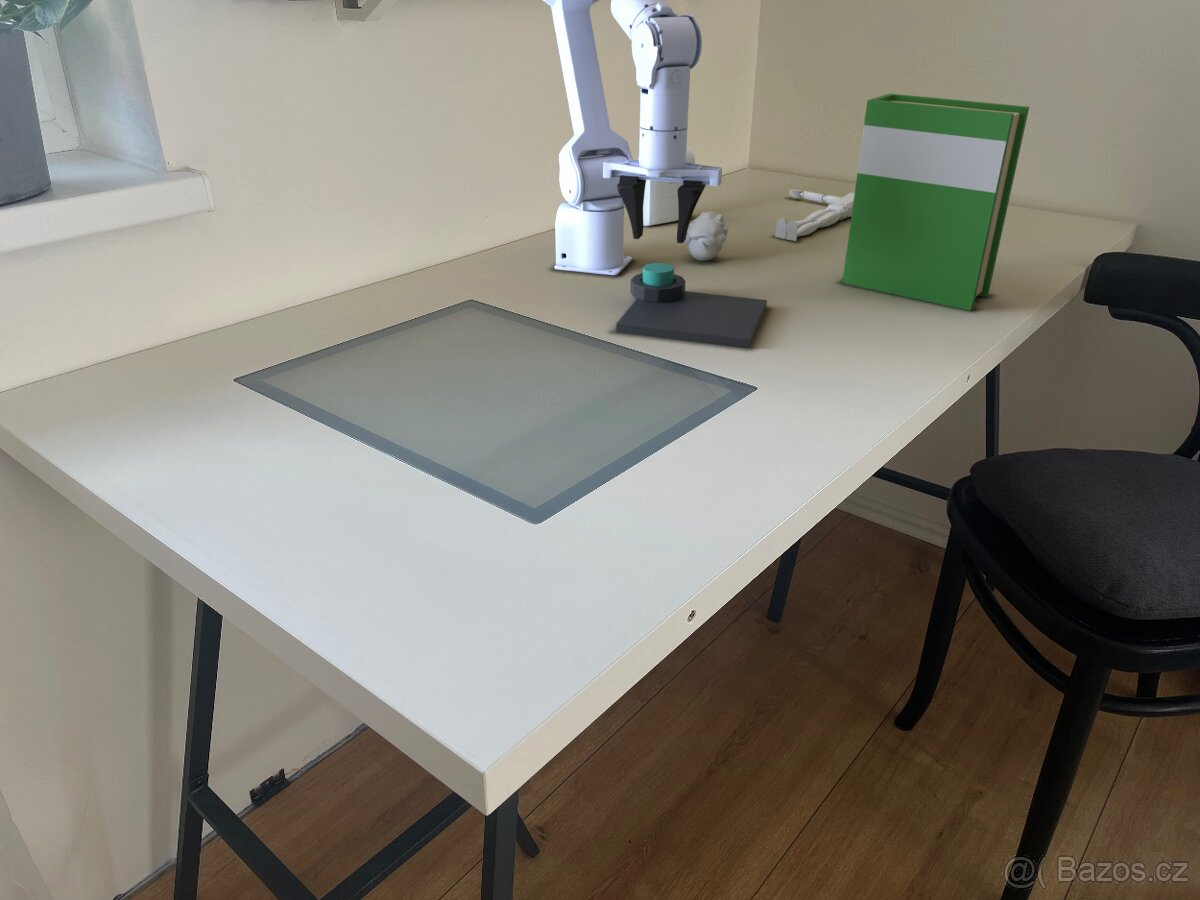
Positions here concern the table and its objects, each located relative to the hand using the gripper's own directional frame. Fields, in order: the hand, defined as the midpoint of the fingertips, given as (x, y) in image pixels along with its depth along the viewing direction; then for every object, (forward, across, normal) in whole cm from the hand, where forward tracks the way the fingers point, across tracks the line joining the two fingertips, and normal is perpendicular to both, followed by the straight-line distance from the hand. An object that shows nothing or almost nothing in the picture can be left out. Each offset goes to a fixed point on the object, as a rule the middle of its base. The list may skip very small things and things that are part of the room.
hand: (659, 239), depth 117 cm
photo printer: (+9, -9, +39) cm, 41 cm away
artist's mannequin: (+9, +18, +48) cm, 52 cm away
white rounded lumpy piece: (+9, +2, +20) cm, 22 cm away
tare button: (+6, 0, 0) cm, 6 cm away
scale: (+8, +5, -4) cm, 11 cm away
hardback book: (+9, +32, +16) cm, 37 cm away
